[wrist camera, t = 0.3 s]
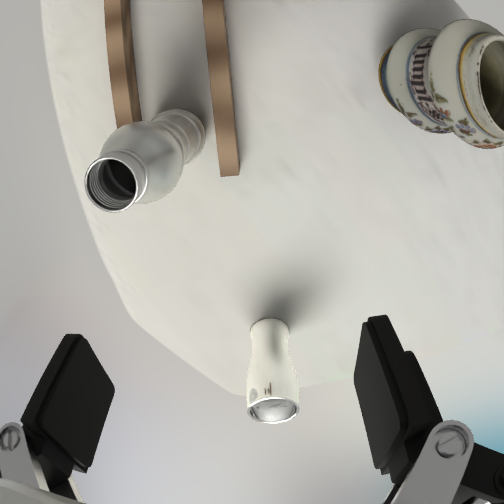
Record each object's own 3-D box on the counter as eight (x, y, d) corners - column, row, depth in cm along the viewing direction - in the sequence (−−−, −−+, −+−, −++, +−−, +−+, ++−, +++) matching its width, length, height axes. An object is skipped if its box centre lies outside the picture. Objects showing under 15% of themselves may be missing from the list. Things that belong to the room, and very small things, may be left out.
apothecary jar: (452, 46, 28) (553, 47, 12) (448, 131, 33) (544, 173, 18) (369, 24, 28) (453, -9, 12) (367, 118, 33) (449, 150, 18)
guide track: (113, -25, 24) (92, -38, 19) (219, -48, 23) (213, -69, 18) (136, 180, 37) (119, 196, 32) (240, 168, 37) (237, 183, 32)
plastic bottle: (153, 107, 33) (59, 136, 16) (210, 107, 33) (162, 129, 16) (153, 159, 36) (71, 232, 19) (208, 160, 36) (165, 236, 19)
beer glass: (299, 336, 50) (310, 414, 37) (262, 352, 52) (263, 429, 39) (277, 308, 47) (284, 390, 34) (238, 327, 49) (234, 407, 36)
